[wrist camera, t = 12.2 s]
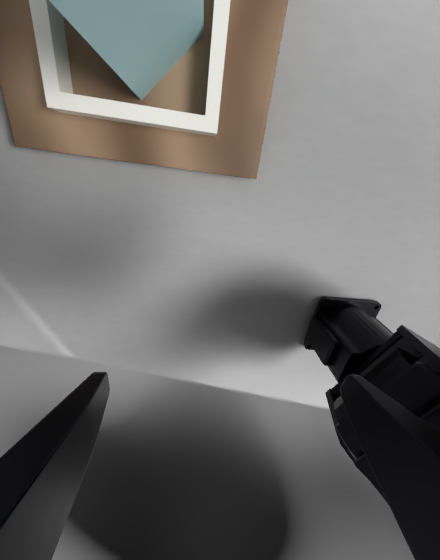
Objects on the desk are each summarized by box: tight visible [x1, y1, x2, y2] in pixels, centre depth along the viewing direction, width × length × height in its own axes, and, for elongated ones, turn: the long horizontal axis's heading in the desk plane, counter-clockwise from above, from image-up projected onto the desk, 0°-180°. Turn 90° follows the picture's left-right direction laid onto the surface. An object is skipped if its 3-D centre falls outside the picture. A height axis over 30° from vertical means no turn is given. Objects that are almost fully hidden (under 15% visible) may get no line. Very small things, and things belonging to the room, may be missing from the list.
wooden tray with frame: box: [0, 0, 288, 179], centre depth 12 cm, size 16×14×3 cm
